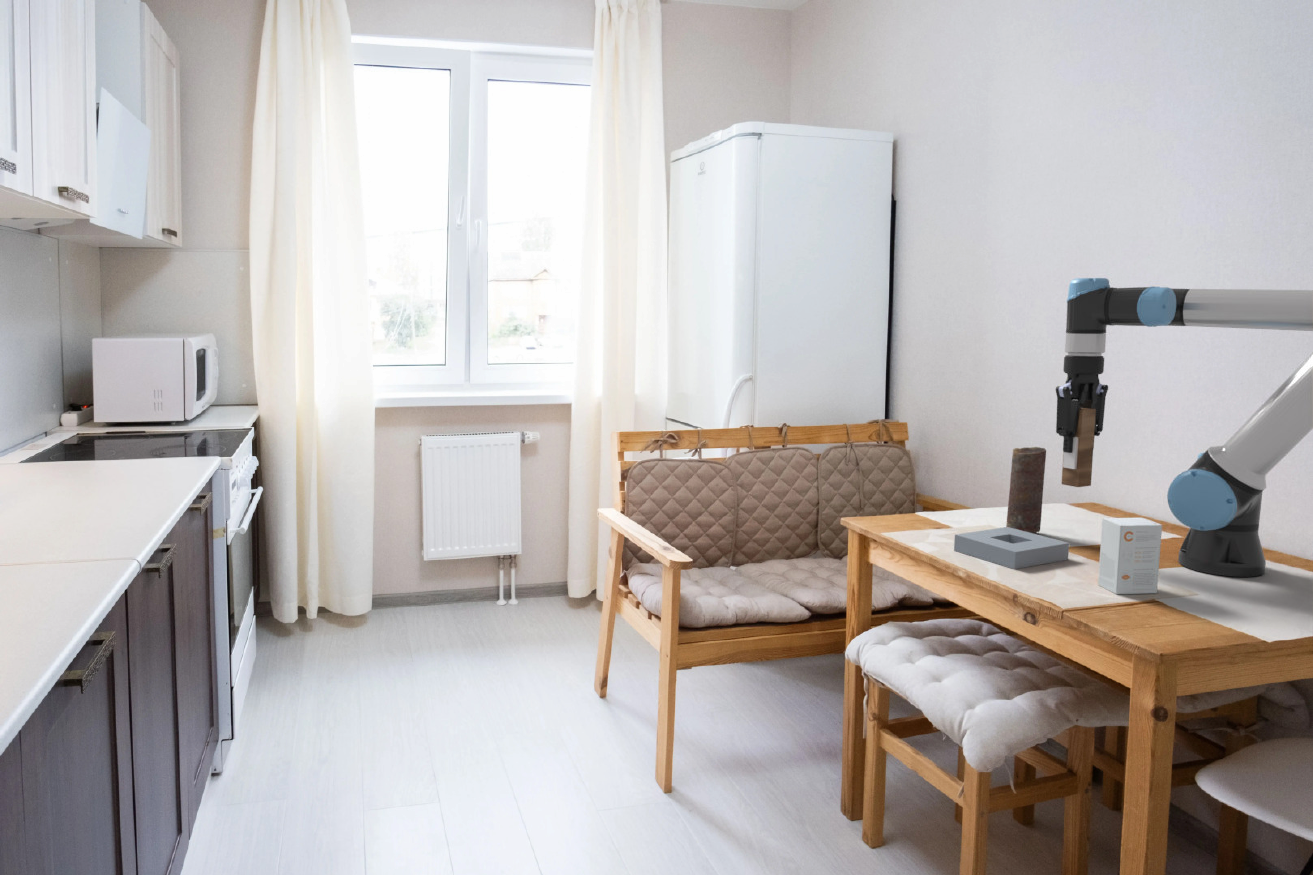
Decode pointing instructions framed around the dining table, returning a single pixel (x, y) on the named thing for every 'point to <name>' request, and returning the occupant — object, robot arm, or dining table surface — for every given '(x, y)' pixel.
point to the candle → (1026, 489)
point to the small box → (1129, 555)
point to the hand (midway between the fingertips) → (1077, 467)
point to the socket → (1011, 547)
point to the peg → (1082, 451)
